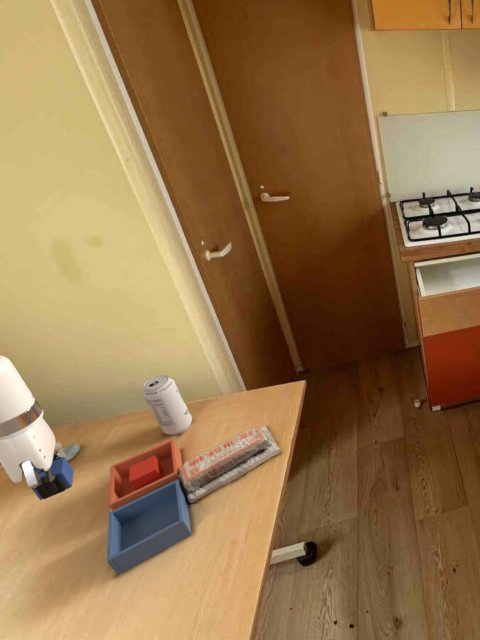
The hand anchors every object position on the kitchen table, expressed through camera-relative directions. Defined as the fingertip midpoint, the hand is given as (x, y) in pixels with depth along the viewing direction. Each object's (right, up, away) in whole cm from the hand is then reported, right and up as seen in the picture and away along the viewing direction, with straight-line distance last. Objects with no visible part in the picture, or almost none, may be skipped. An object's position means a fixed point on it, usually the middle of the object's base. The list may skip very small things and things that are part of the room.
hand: (56, 483), depth 84 cm
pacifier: (-13, -2, +14) cm, 19 cm away
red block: (+12, -4, +8) cm, 15 cm away
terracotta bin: (+12, -4, +8) cm, 15 cm away
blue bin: (+20, -9, 0) cm, 22 cm away
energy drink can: (+7, +2, +22) cm, 23 cm away
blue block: (0, -1, 0) cm, 1 cm away
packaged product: (+27, -2, +13) cm, 30 cm away
